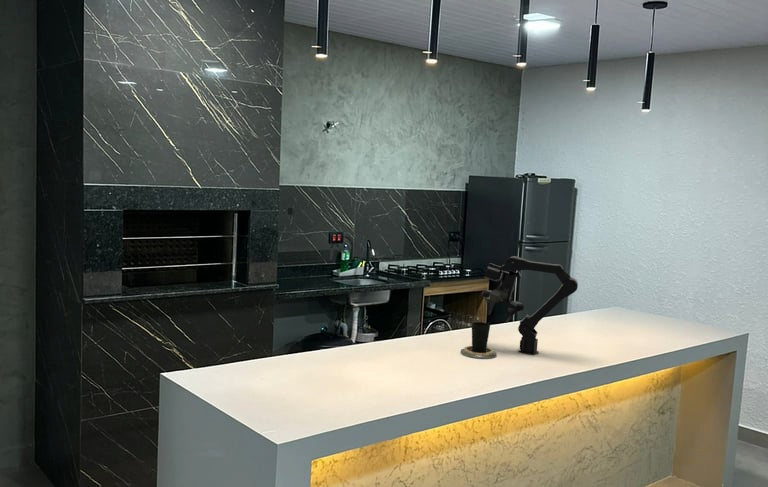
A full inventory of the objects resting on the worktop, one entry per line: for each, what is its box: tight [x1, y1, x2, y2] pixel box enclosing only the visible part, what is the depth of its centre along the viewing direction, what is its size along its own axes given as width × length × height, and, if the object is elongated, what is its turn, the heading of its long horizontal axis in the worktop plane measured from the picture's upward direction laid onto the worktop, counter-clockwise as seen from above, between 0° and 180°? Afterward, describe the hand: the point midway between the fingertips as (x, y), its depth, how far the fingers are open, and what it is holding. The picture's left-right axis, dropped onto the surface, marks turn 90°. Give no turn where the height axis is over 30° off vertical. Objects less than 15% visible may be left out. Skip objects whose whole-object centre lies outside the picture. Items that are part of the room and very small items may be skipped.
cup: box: [471, 321, 491, 353], centre depth 287 cm, size 8×8×12 cm
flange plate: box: [460, 345, 497, 360], centre depth 287 cm, size 15×15×2 cm
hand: (497, 318), depth 298 cm, fingers open, 9 cm apart
